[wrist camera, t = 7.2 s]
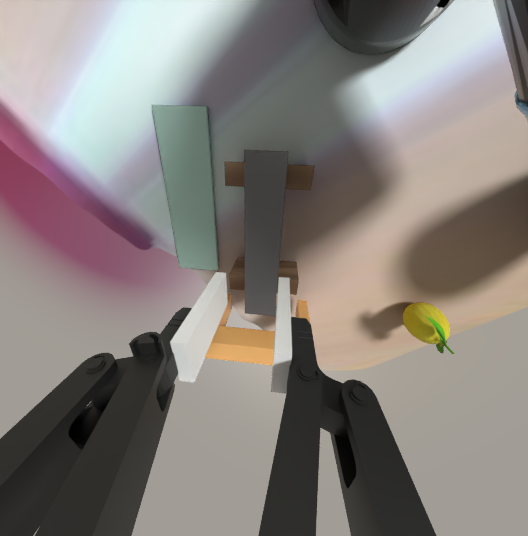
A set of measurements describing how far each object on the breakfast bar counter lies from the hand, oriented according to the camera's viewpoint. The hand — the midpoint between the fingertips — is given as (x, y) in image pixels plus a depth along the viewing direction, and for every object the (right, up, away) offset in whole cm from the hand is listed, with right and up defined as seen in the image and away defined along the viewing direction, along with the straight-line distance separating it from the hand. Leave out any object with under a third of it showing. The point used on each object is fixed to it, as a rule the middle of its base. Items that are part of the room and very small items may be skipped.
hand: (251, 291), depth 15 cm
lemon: (+27, -5, +21) cm, 35 cm away
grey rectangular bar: (+1, +6, +11) cm, 13 cm away
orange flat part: (+1, -5, +20) cm, 21 cm away
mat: (-10, +12, +16) cm, 22 cm away
